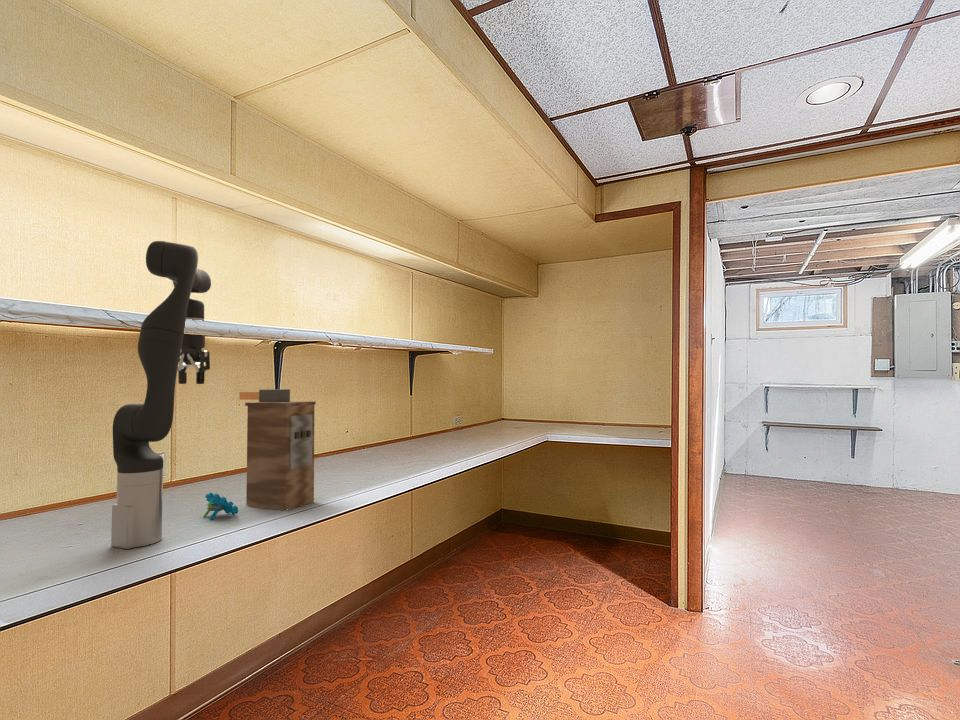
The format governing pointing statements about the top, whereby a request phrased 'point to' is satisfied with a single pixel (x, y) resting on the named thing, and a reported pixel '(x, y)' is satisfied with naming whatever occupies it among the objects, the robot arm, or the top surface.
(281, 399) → the block
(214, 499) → the teal plastic lumpy figure
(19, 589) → the top surface
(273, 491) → the stand
